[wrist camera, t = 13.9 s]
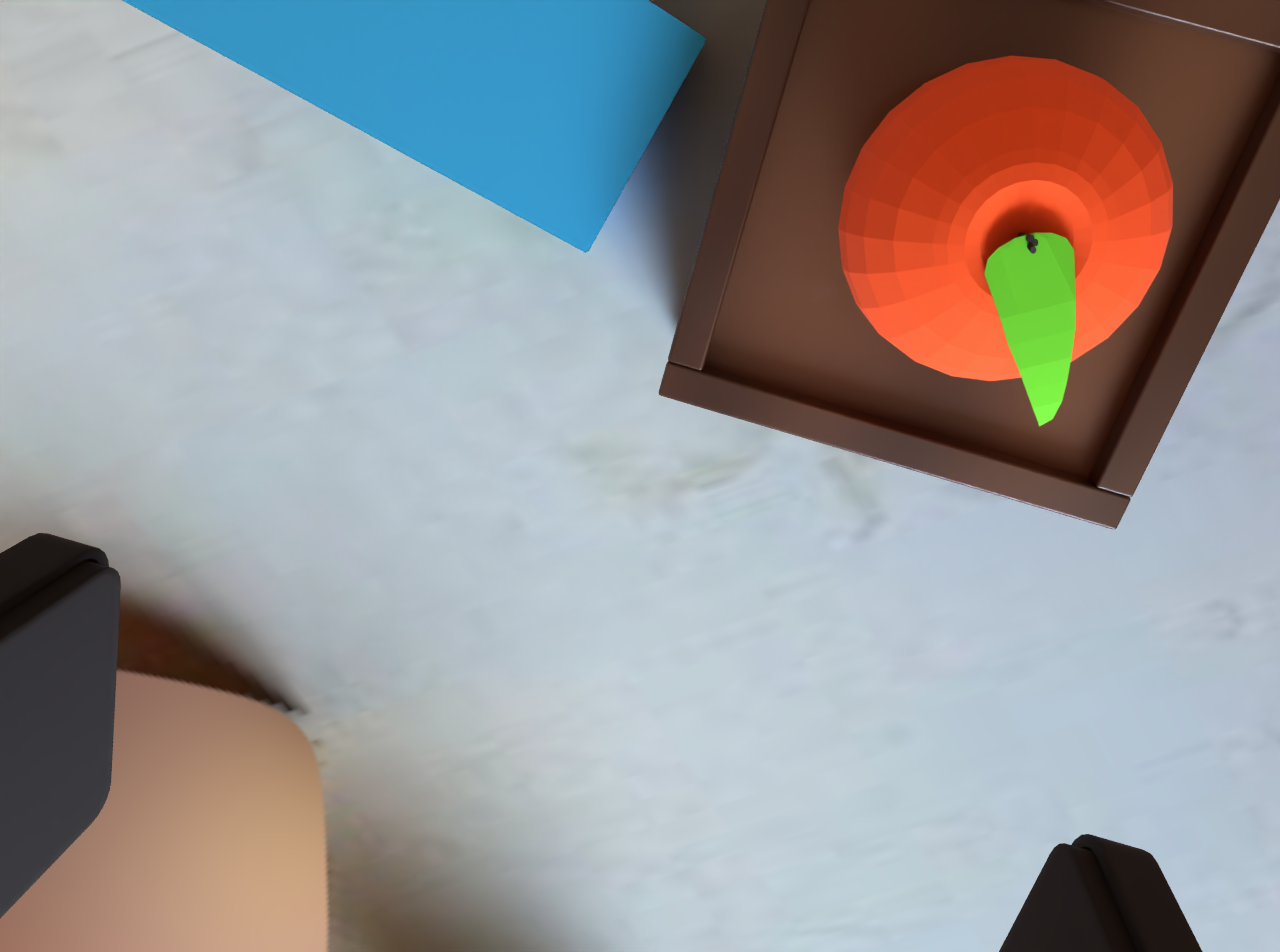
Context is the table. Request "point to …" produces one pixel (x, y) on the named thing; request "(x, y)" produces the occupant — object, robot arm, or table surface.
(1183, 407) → the table surface
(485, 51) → the lever
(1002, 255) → the clementine
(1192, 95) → the tray
